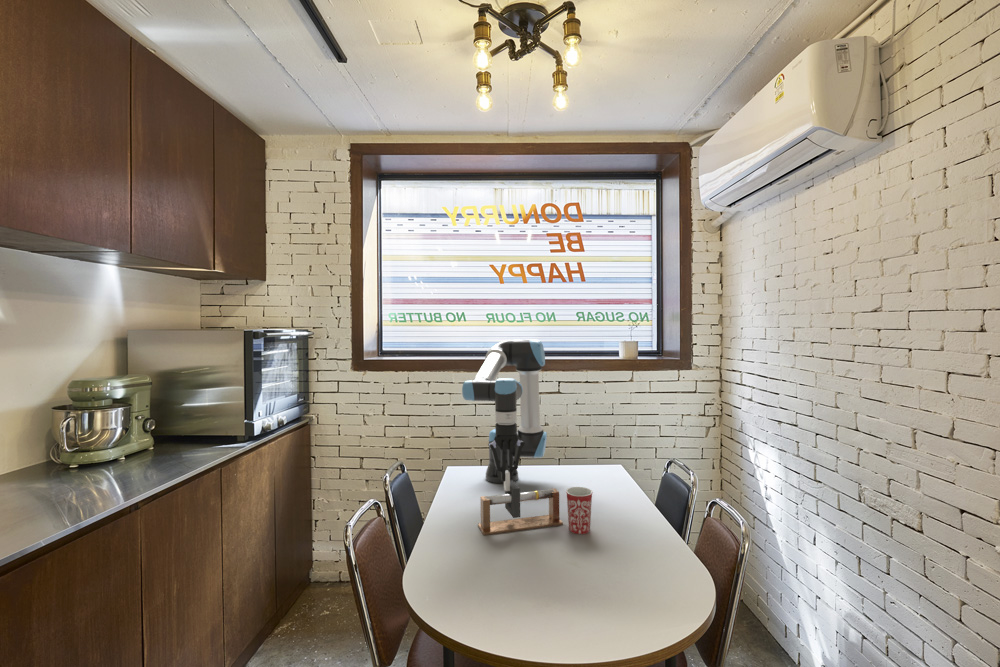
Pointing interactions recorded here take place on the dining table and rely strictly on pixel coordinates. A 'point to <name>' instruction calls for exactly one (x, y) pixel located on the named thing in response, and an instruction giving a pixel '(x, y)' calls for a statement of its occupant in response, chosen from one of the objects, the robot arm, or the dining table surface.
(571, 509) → the mug
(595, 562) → the dining table surface
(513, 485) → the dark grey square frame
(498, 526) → the pipe rig
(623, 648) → the dining table surface
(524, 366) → the robot arm
